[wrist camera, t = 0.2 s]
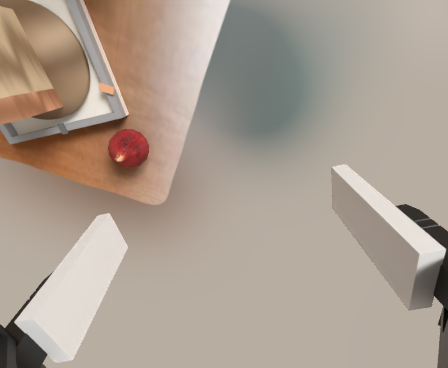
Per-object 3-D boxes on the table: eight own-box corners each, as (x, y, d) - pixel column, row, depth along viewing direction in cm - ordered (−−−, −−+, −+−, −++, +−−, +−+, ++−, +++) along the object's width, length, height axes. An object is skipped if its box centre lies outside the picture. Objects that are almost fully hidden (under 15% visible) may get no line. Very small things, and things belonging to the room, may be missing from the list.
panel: (-64, 3, 32) (-90, -3, 29) (73, -40, 30) (58, -49, 27) (23, 141, 40) (9, 147, 38) (133, 115, 39) (126, 119, 36)
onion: (124, 118, 39) (103, 131, 32) (158, 133, 40) (145, 149, 33) (115, 149, 41) (93, 167, 34) (147, 162, 42) (133, 183, 35)
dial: (-51, 15, 31) (-147, -1, 23) (55, -17, 30) (-7, -45, 22) (19, 127, 38) (-36, 146, 30) (107, 106, 37) (75, 119, 28)
